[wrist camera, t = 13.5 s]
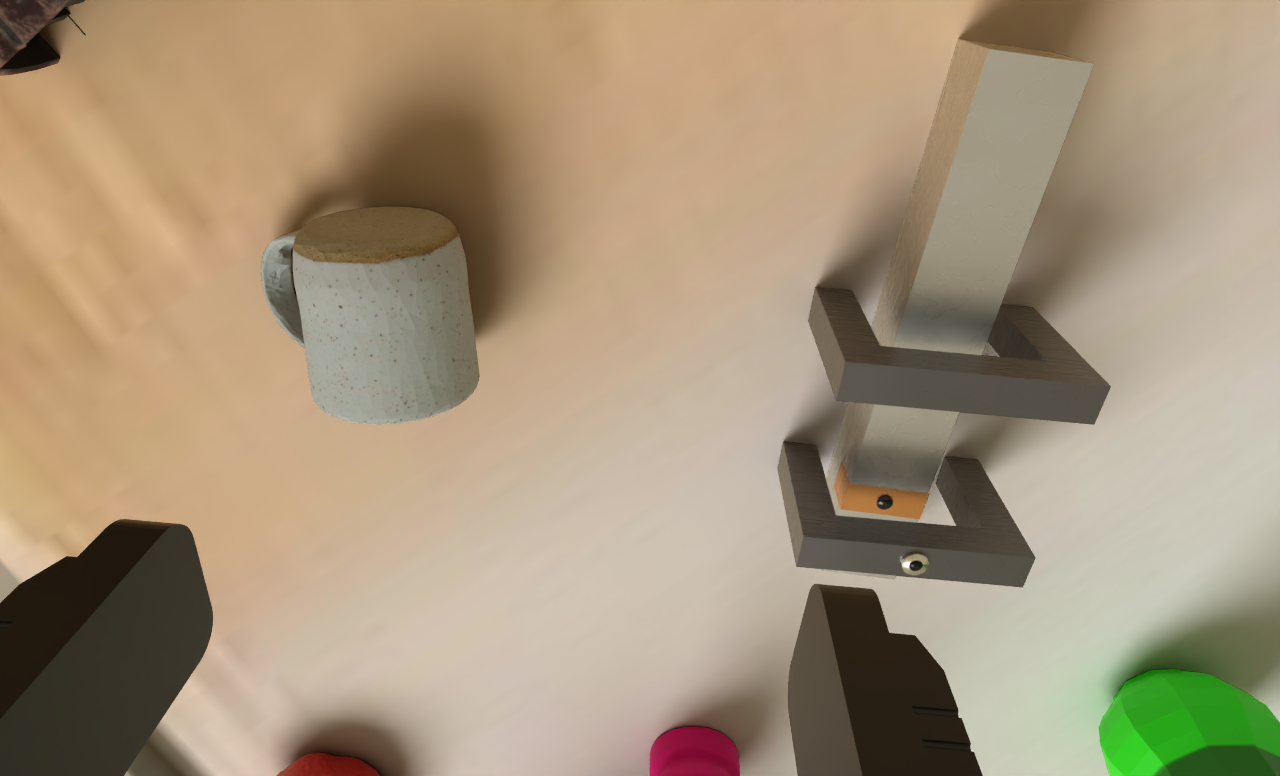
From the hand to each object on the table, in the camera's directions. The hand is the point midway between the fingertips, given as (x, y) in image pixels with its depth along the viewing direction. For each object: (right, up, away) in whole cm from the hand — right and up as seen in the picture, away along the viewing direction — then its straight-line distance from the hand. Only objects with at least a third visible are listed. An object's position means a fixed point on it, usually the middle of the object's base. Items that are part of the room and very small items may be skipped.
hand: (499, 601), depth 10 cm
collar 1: (+16, +6, +28) cm, 33 cm away
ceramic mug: (-11, +8, +29) cm, 32 cm away
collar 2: (+15, -1, +32) cm, 36 cm away
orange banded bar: (+15, +6, +29) cm, 33 cm away
